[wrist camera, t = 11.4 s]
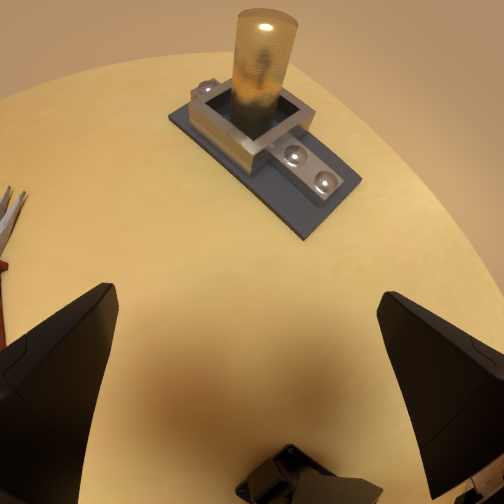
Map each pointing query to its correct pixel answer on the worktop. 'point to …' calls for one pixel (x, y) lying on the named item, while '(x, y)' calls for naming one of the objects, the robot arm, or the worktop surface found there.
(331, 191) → the grey framed plate
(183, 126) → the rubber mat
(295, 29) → the amber cylinder
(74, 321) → the robot arm
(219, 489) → the worktop surface
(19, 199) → the pliers
